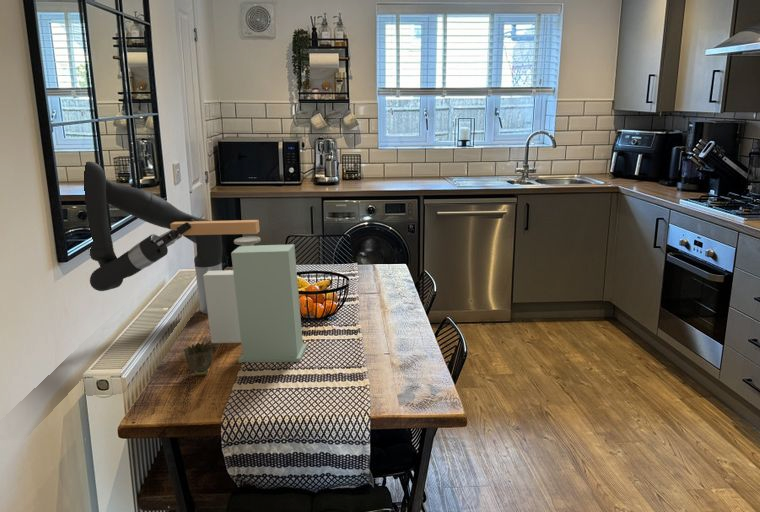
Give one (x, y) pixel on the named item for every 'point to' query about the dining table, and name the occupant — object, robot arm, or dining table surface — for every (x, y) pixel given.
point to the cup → (199, 358)
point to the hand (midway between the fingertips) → (191, 223)
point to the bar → (220, 227)
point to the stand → (268, 303)
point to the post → (222, 306)
